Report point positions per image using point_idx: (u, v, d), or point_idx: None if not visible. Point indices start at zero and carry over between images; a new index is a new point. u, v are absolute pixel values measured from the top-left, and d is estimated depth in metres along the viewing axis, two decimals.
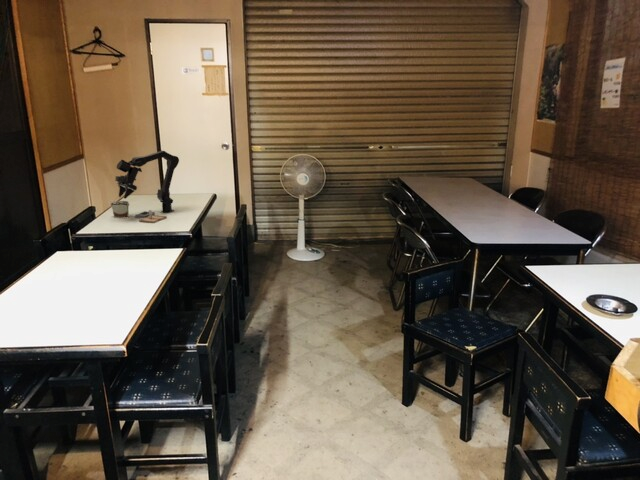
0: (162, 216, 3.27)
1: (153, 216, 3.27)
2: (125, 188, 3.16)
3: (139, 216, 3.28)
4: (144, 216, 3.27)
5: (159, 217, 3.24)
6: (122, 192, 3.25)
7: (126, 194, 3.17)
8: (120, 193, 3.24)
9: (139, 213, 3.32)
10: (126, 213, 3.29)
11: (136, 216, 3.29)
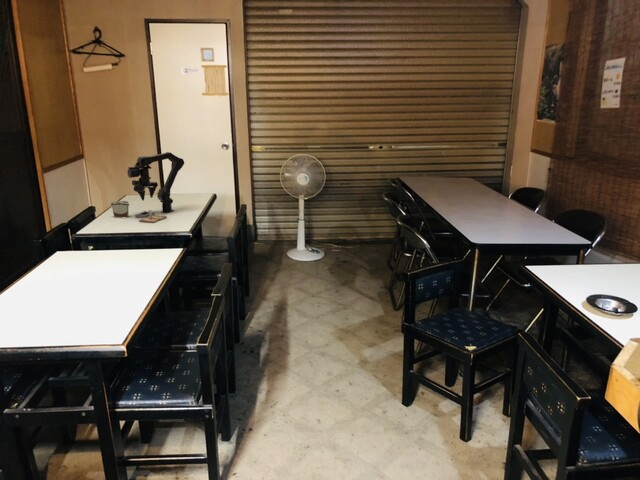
0: (162, 216, 3.27)
1: (153, 216, 3.27)
2: None
3: (139, 216, 3.28)
4: (144, 216, 3.27)
5: (159, 217, 3.24)
6: (151, 192, 3.36)
7: (141, 196, 3.28)
8: (150, 194, 3.37)
9: (139, 213, 3.32)
10: (126, 213, 3.29)
11: (136, 216, 3.29)
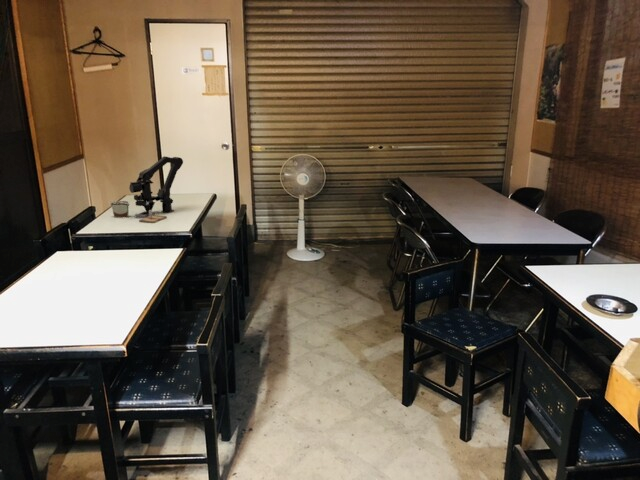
0: (162, 216, 3.27)
1: (153, 216, 3.27)
2: None
3: (139, 216, 3.28)
4: (144, 216, 3.27)
5: (159, 217, 3.24)
6: (150, 208, 3.36)
7: (146, 209, 3.34)
8: (149, 209, 3.37)
9: (139, 213, 3.32)
10: (126, 213, 3.29)
11: (136, 216, 3.29)
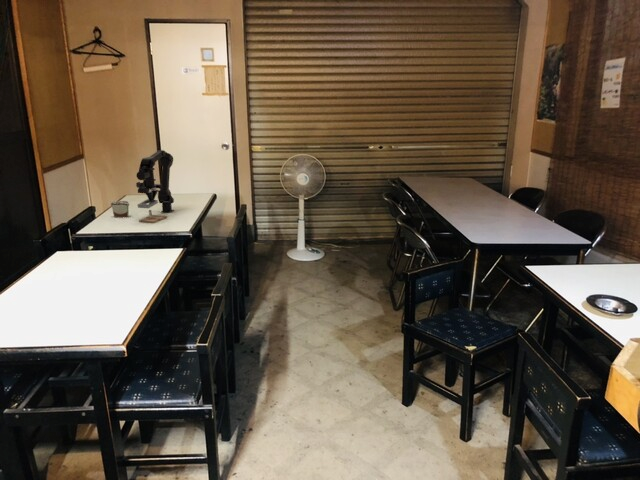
0: (162, 216, 3.27)
1: (153, 216, 3.27)
2: (146, 192, 3.21)
3: (141, 206, 3.16)
4: (147, 206, 3.15)
5: (159, 217, 3.24)
6: (153, 196, 3.24)
7: (149, 197, 3.21)
8: (152, 197, 3.24)
9: (141, 202, 3.20)
10: (126, 213, 3.29)
11: (138, 206, 3.17)
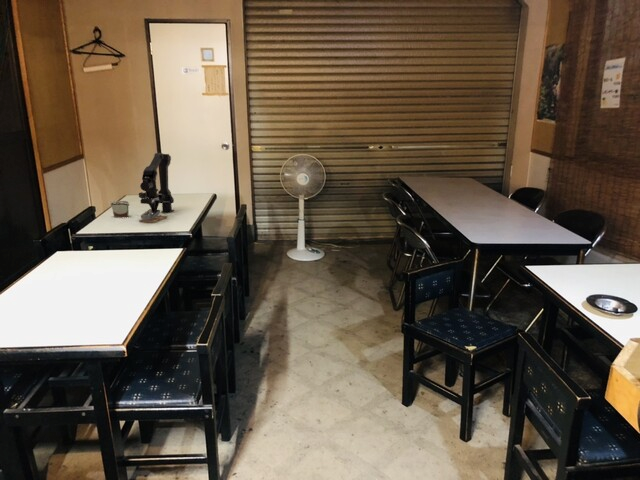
0: (162, 216, 3.27)
1: None
2: None
3: (145, 217, 3.16)
4: (150, 217, 3.15)
5: (159, 217, 3.24)
6: (155, 206, 3.24)
7: (151, 208, 3.21)
8: None
9: (144, 213, 3.20)
10: (126, 213, 3.29)
11: (142, 217, 3.17)
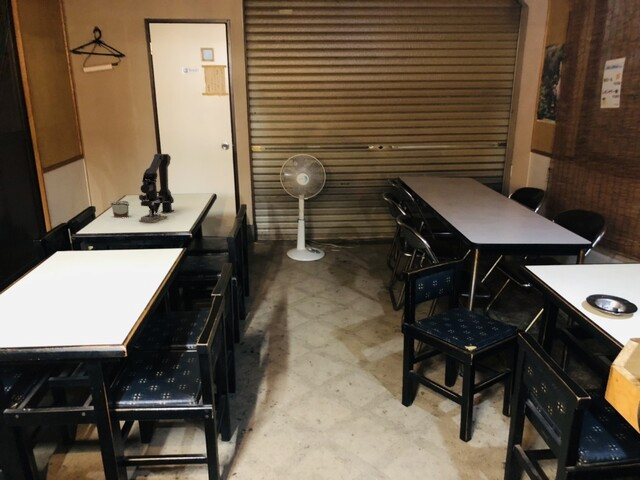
0: (162, 216, 3.27)
1: None
2: None
3: (145, 218, 3.17)
4: (150, 218, 3.16)
5: None
6: (156, 208, 3.25)
7: (151, 210, 3.21)
8: (155, 209, 3.25)
9: (145, 215, 3.21)
10: (126, 213, 3.29)
11: (142, 218, 3.17)
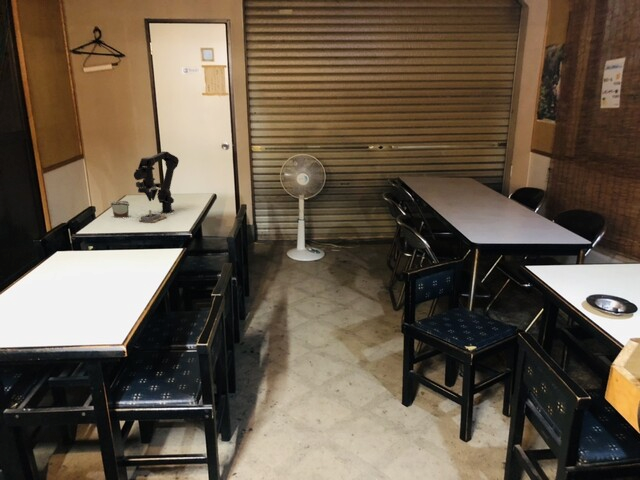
0: (162, 216, 3.27)
1: None
2: None
3: (145, 218, 3.17)
4: (150, 218, 3.16)
5: None
6: (153, 195, 3.30)
7: (148, 197, 3.26)
8: (152, 196, 3.30)
9: (145, 215, 3.21)
10: (126, 213, 3.29)
11: (142, 218, 3.17)
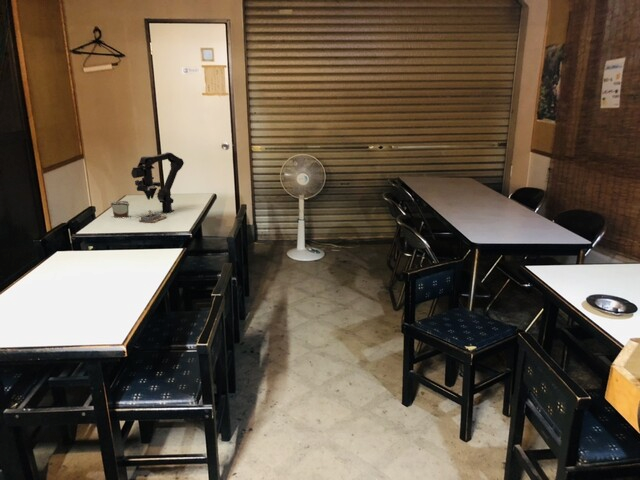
0: (162, 216, 3.27)
1: None
2: (144, 190, 3.29)
3: (145, 218, 3.17)
4: (150, 218, 3.16)
5: None
6: (152, 193, 3.33)
7: (147, 195, 3.29)
8: (151, 195, 3.33)
9: (145, 215, 3.21)
10: (126, 213, 3.29)
11: (142, 218, 3.17)
